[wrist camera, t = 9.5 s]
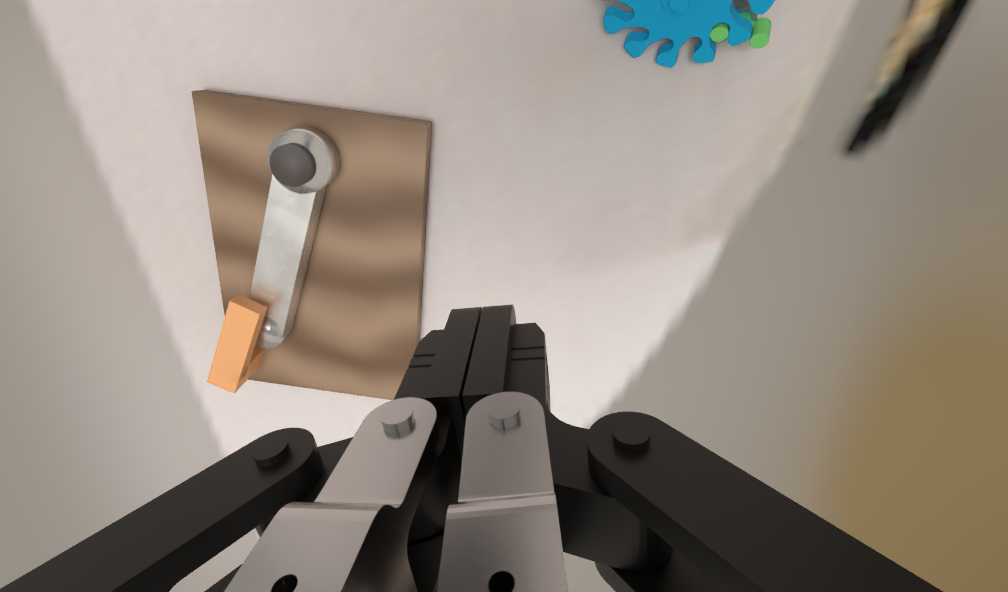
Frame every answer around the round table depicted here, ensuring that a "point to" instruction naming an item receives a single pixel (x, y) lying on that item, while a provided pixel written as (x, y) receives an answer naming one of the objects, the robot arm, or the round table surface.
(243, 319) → the block
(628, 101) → the round table surface
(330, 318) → the base plate
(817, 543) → the robot arm
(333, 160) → the lever
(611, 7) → the gear
